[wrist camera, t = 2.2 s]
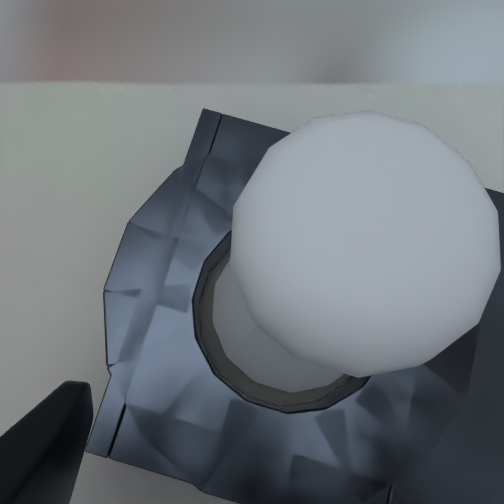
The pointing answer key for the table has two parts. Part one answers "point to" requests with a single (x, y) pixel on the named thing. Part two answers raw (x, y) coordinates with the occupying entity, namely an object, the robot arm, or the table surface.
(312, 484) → the plate
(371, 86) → the table surface
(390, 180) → the white rounded peg
